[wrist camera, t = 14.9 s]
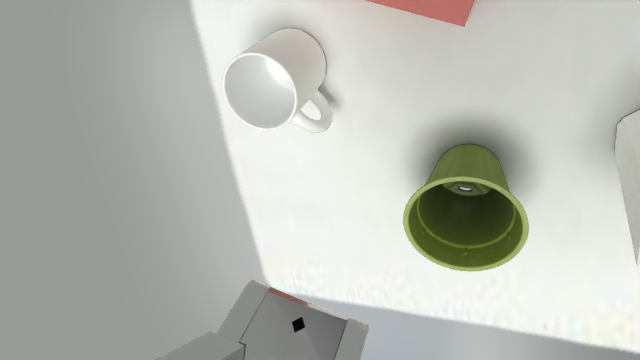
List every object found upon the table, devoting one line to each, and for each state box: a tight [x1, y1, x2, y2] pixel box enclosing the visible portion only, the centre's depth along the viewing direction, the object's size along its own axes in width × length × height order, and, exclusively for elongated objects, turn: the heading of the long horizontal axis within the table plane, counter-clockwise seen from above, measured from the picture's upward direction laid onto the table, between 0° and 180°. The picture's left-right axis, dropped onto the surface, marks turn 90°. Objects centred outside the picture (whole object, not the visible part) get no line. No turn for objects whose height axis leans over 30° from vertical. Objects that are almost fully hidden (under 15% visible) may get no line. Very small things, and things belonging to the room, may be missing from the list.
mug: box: [222, 29, 332, 133], centre depth 48 cm, size 12×8×10 cm
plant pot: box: [403, 144, 529, 271], centre depth 48 cm, size 12×12×11 cm
